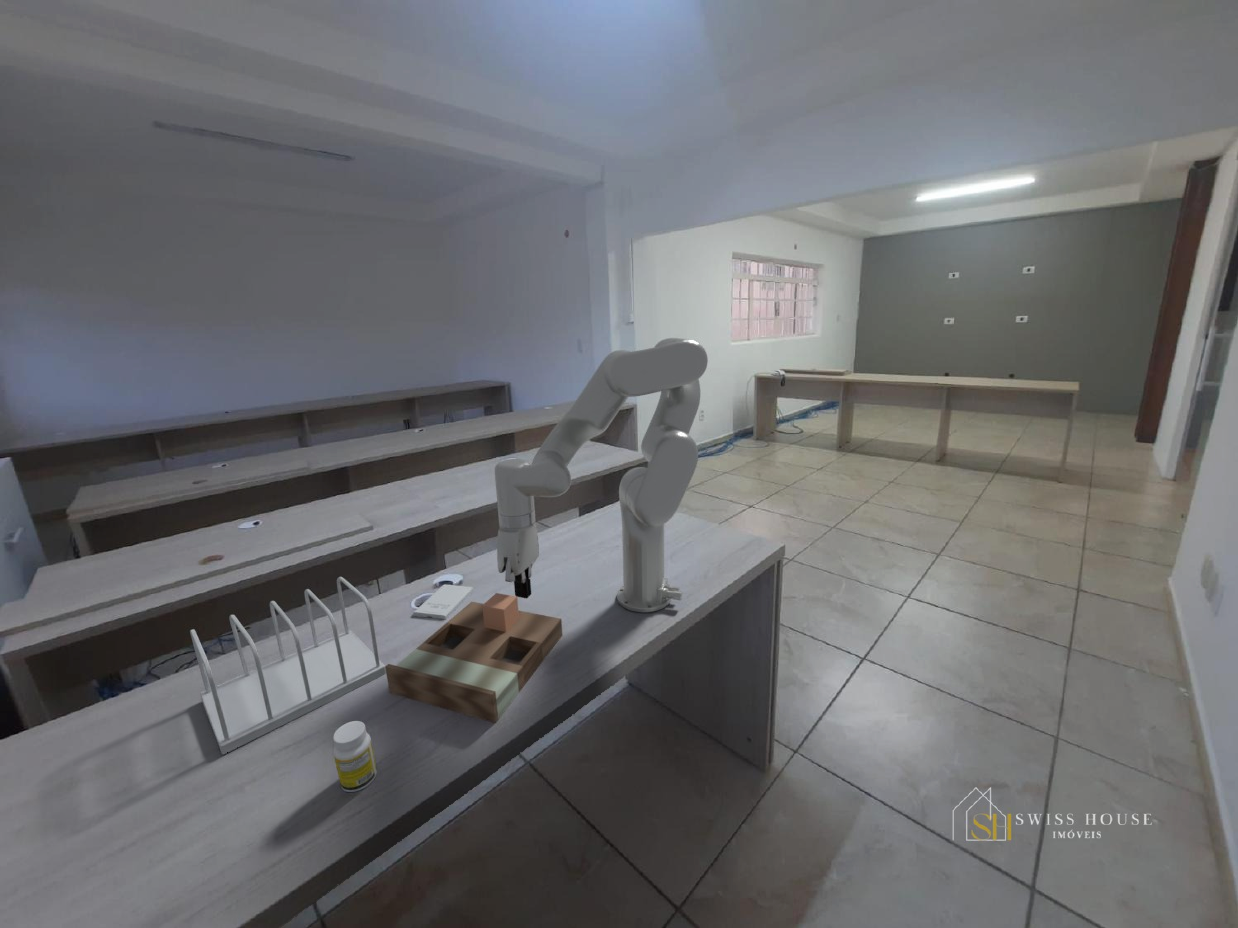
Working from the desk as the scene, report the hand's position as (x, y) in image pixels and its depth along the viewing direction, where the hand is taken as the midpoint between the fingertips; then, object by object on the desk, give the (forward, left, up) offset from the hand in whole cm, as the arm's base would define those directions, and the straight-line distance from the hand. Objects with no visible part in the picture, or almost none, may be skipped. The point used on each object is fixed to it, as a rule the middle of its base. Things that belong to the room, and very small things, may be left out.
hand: (523, 595), depth 109 cm
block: (0, +9, -1) cm, 9 cm away
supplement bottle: (+2, +44, -5) cm, 44 cm away
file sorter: (+28, +33, -6) cm, 44 cm away
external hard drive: (+21, +1, -6) cm, 22 cm away
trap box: (0, +16, -5) cm, 17 cm away
